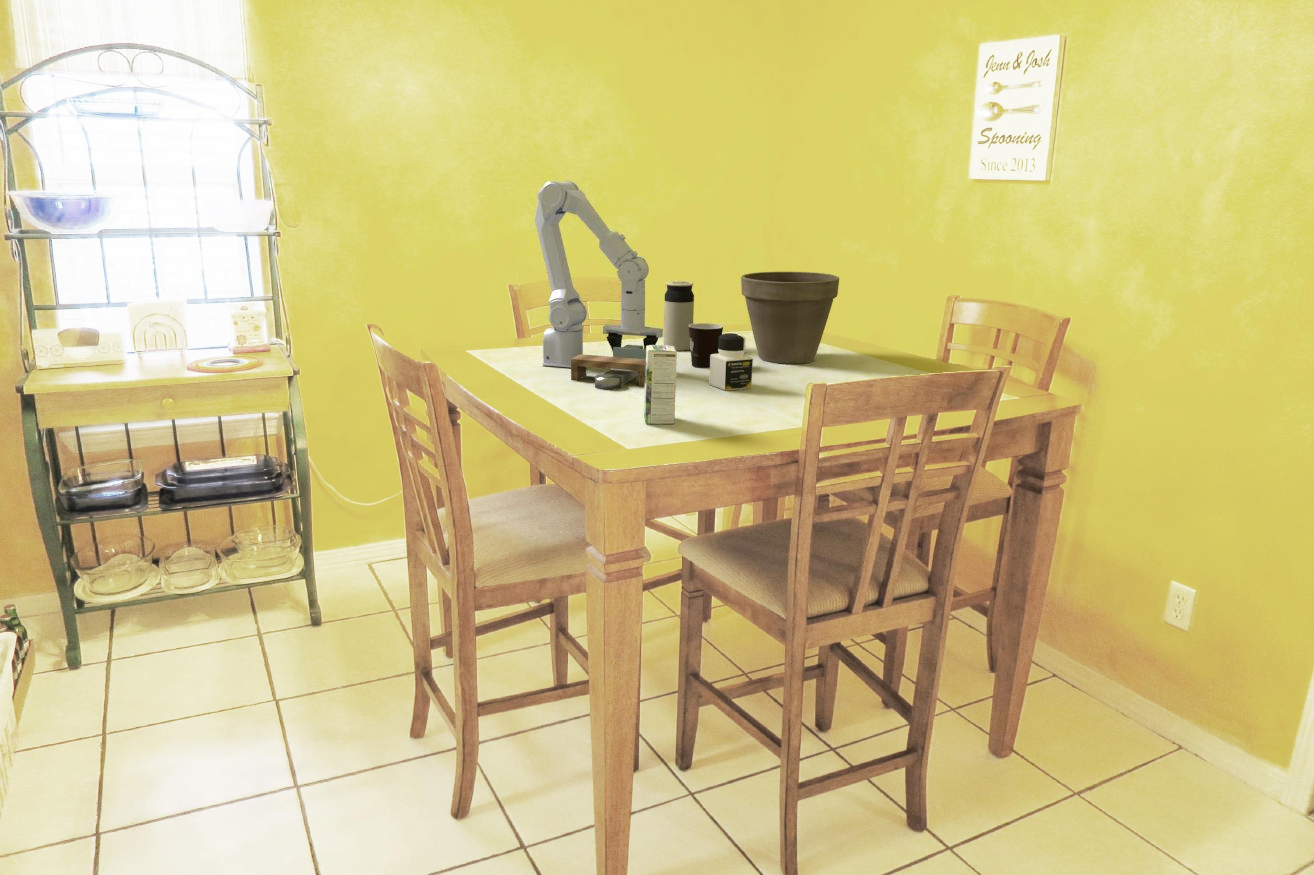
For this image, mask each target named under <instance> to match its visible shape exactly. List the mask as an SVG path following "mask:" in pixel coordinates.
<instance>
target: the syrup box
mask: <svg viewBox="0 0 1314 875" xmlns="http://www.w3.org/2000/svg"><path fill="white" fill-rule="evenodd" d="M677 358H678V351H676V349H675V347H674V346H668V345H664V344H656V345H649V346H646V366H645V386H644V392H643V393H644V397H643V399H644V400H643V401H644V402H643V419H644V423H645V425H667V424H668V425H669V424H672V425H674V424H675V414H676V413H675V412H676V387H677V386H676V385H677V366H678V365H677V362H678V361H677Z"/></svg>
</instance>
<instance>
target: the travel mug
mask: <svg viewBox="0 0 1314 875" xmlns="http://www.w3.org/2000/svg"><path fill="white" fill-rule="evenodd" d="M665 285H666V288H667V289H666V291H665V294H664V306H663V307H664V310H663V311H664V312H663V345H668V346H674V347H675V349H676V351H677V352H684V351H685V352H686V351H691V349H690V337H689V325H690V324H694V316H695V315H694V311H695V310H694V309H695V308H694V307H695V306H694V305H695V293H694V292H693V286H694V282H692V281H686V280H683V281H682V280H673V281H672V280H671V281H667V282H665Z"/></svg>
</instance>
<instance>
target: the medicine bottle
mask: <svg viewBox="0 0 1314 875" xmlns="http://www.w3.org/2000/svg"><path fill="white" fill-rule="evenodd" d="M718 352H719V354H711V355H710V368H709V382H708V383H709V385H710V386H712V387H715V388H718V389H721V390H722V391H726V392H727V391H728V392H729V391H736V390H737V391H738V390H746V389H751V388H752V381H753V365H754V364H753V363H754V358H753V357H752V356H749V355H747V354H745V353H746V336H745V335H743V334H741V333H735V332H732V333H731V332H727V333H722V335H720V336H719V345H718Z"/></svg>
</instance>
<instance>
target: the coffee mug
mask: <svg viewBox="0 0 1314 875" xmlns="http://www.w3.org/2000/svg"><path fill="white" fill-rule="evenodd" d="M723 330H724V325H722V324H717V323H709V322H708V323H704V322H703V323H702V322H700V323H693V324H690V325H689V337H690V358H691V366H692V367H693V368H698V369H710V355H711V354H719V352H718V345H719V336H720V335H722V334H723Z"/></svg>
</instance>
